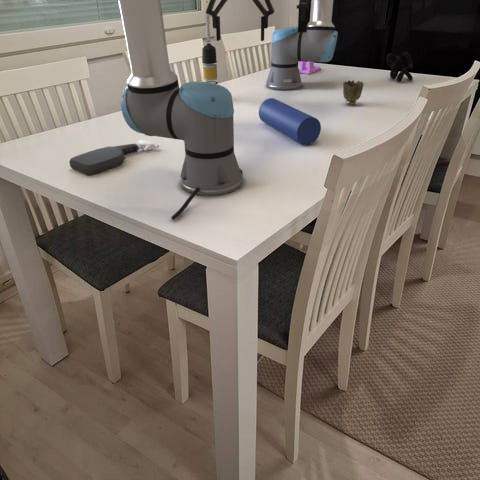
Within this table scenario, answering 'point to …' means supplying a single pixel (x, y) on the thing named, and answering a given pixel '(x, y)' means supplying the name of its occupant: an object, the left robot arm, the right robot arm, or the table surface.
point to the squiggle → (399, 66)
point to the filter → (209, 58)
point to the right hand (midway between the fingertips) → (302, 29)
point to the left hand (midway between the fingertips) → (240, 40)
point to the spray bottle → (106, 157)
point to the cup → (352, 91)
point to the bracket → (308, 67)
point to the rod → (290, 121)
